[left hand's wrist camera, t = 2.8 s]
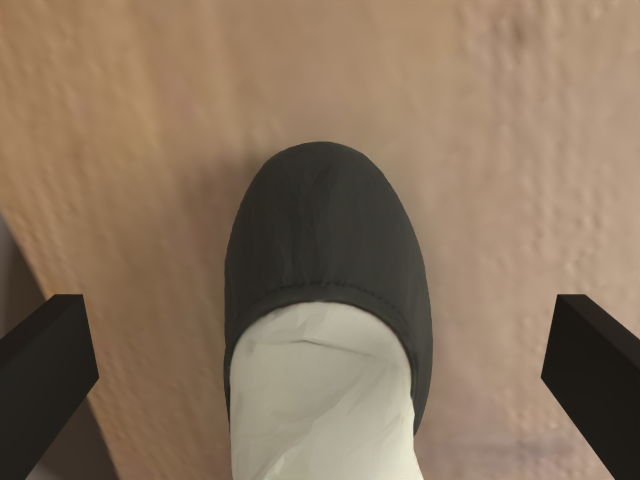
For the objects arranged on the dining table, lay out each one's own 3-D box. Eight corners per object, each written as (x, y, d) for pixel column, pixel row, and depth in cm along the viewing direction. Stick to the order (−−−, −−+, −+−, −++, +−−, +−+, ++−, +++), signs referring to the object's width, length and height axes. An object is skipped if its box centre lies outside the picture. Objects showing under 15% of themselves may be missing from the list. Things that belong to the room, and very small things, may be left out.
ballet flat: (438, 136, 17) (532, 191, 9) (399, 571, 25) (431, 788, 18) (220, 135, 17) (134, 190, 9) (253, 569, 26) (222, 785, 18)
